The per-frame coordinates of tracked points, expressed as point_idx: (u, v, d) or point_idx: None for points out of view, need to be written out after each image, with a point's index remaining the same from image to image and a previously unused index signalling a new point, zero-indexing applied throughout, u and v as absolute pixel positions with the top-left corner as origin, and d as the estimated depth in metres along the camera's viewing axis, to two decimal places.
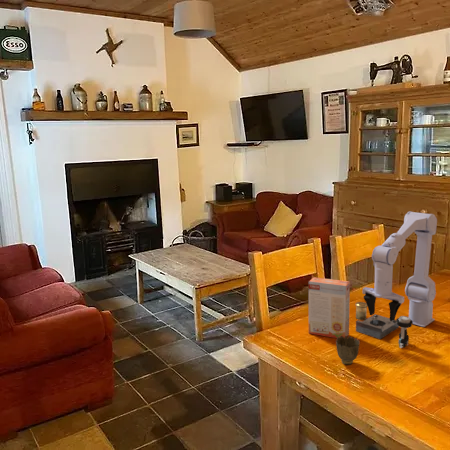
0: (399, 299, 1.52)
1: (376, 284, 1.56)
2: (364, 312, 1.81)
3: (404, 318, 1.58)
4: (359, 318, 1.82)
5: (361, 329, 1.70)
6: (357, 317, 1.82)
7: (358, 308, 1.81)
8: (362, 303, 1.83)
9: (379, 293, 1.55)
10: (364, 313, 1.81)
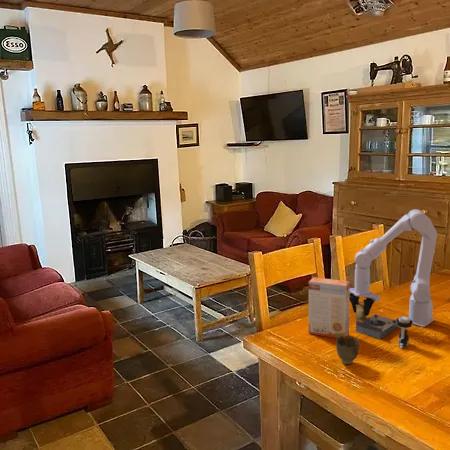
0: (375, 298, 1.76)
1: (356, 285, 1.79)
2: (364, 312, 1.81)
3: (404, 318, 1.58)
4: (359, 318, 1.82)
5: (361, 329, 1.70)
6: (357, 317, 1.82)
7: (358, 308, 1.81)
8: (362, 303, 1.83)
9: (358, 292, 1.79)
10: (364, 313, 1.81)
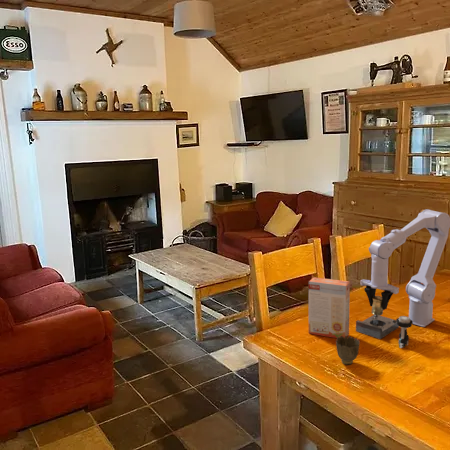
0: (394, 290, 1.64)
1: (373, 276, 1.67)
2: (381, 307, 1.69)
3: (404, 318, 1.58)
4: (375, 313, 1.70)
5: (361, 329, 1.70)
6: (373, 312, 1.71)
7: (375, 302, 1.69)
8: (379, 297, 1.71)
9: (375, 284, 1.67)
10: (381, 308, 1.69)
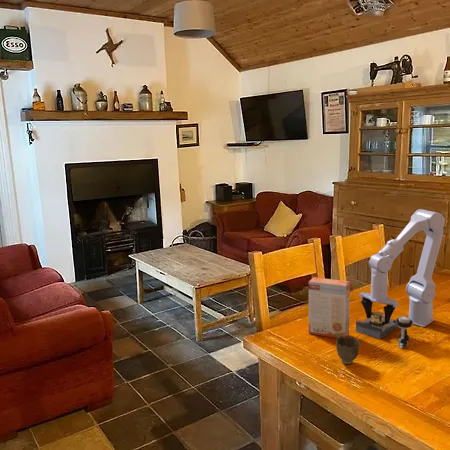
0: (393, 304, 1.65)
1: (372, 290, 1.69)
2: (380, 323, 1.71)
3: (404, 318, 1.58)
4: None
5: (361, 329, 1.70)
6: None
7: (374, 319, 1.71)
8: (378, 313, 1.72)
9: (375, 298, 1.68)
10: (380, 324, 1.71)
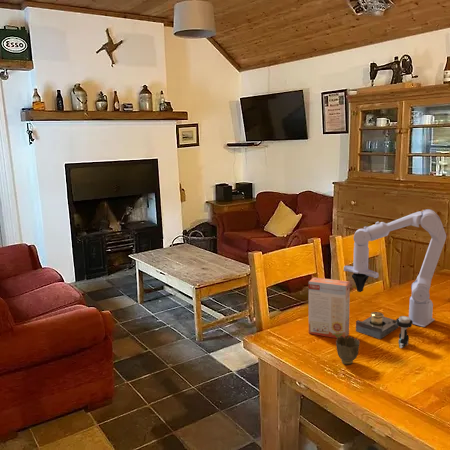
0: (374, 274, 1.77)
1: (354, 262, 1.80)
2: (380, 323, 1.71)
3: (404, 318, 1.58)
4: None
5: (361, 329, 1.70)
6: None
7: (374, 319, 1.71)
8: (378, 313, 1.72)
9: (357, 270, 1.80)
10: (380, 324, 1.71)
